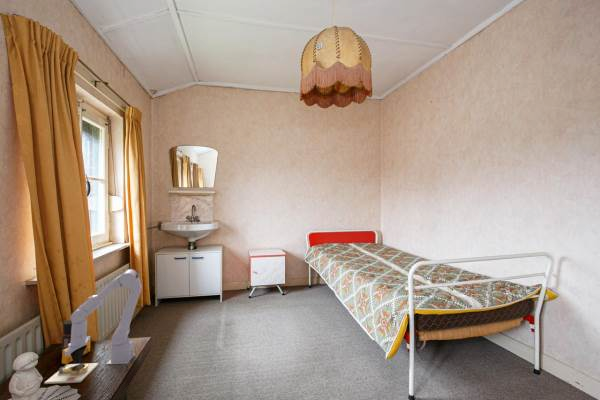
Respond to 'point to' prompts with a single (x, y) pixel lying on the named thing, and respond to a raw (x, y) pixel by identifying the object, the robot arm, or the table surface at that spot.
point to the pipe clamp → (68, 358)
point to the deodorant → (66, 334)
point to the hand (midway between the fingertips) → (77, 363)
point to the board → (70, 378)
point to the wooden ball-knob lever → (73, 369)
